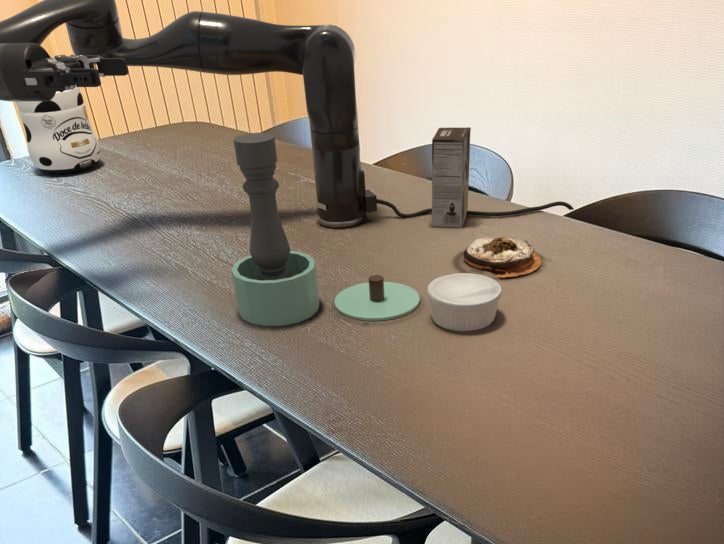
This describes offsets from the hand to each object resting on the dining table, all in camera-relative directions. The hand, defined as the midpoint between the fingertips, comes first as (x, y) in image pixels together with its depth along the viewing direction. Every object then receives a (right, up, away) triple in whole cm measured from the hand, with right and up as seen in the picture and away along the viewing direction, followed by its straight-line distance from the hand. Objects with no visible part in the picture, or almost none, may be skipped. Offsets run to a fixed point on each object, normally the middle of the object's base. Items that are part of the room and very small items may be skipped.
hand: (112, 72), depth 105 cm
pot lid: (+39, -31, +10) cm, 51 cm away
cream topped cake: (+61, -21, +22) cm, 68 cm away
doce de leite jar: (-42, +24, +80) cm, 94 cm away
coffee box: (+54, -6, +40) cm, 67 cm away
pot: (+23, -33, +10) cm, 41 cm away
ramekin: (+52, -36, +5) cm, 64 cm away
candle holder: (+23, -32, +10) cm, 41 cm away
